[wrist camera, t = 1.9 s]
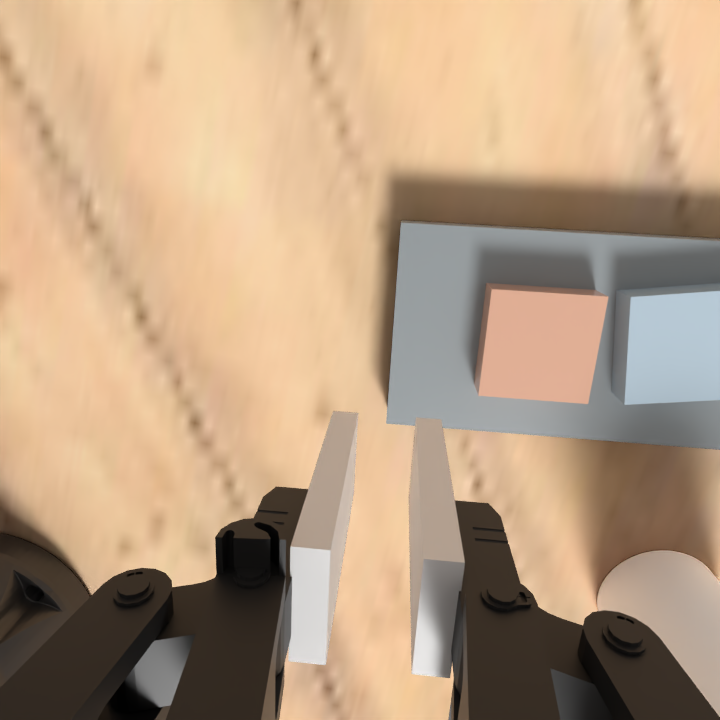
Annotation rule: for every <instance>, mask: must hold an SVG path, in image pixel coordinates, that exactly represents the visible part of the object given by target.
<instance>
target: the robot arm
mask: <svg viewBox="0 0 720 720" xmlns="http://www.w3.org/2000/svg"><path fill="white" fill-rule="evenodd" d="M357 426H358V413H353V412H340V411H333V413H332V416H331V420H330V423H329V426H328V429H327V432H326V435H325V439H324V442H323V445H322V448H321V451H320V454H319V458H318V461H317V464H316V467H315V470H314V473H313V476H312V480H311V483H310V486H309V489H298V488H286V487H275V488H274V489H273V490H272V491H270V492H269V493H268V494H266V495H265V496H264V497H263V499H262V501H261V503H260V505H259V508H258V511H257V512H256V514H255V516H254V518H253V519H242V520H239V521H236V522H233V523H230V524H229V525H227V526H226V527H224V528H222V529H221V530H220V532H219V533H218V534H217V536H216V537H215V539H216V569H217V574H216V577H215V578H214V579H211V580H209V581H206V582H203V583H198V584H193V585H186V586H179V587H172V581H171V579H170V578H169V577H168V576H167V574H166V573H164V572H161V571H159V570H156V569H148V568H140V569H134V570H129V571H126V572H123V573H121V574H118V575H116V576H114V577H112V578H111V579H110V580H108V581H107V582H106V583H104V584H103V585H102V586H101V587H100V588H99V589H98V590H97V591H96V592H95V593H94V594H93V595H92V596H91V597H90V596H89V594H88V593H87V591H86V589H85V588H84V586H83V585H82V583H81V582H80V581H79V579H78V578H77V577H76V576H75V575H74V574H73V573H72V571H71V570H70V569H69V568H68V567H66V566H65V565H64V564H63V563H62V562H61V561H60V560H58V559H57V558H56V557H54V556H53V555H51V554H50V553H48V552H47V551H45V550H43V549H42V548H40V547H38V546H36V545H34V544H32V543H30V542H27V541H25V540H22V539H20V538H16V537H13V536H9V535H5V534H0V720H279V717H280V709H281V702H282V695H283V687H284V662H285V658H286V655H287V651H288V647H289V661H292V662H302V663H311V664H321V665H326V660H327V654H328V648H329V642H330V636H331V630H332V624H333V617H334V611H335V605H336V599H337V593H338V587H339V581H340V574H341V568H342V562H343V556H344V550H345V544H346V538H347V532H348V525H349V519H350V513H351V507H352V501H353V495H354V481H355V463H356V444H357ZM409 545H410V603H411V661H412V674H417V675H426V676H436V677H445V678H450V673H451V666H452V664H453V673H454V683H453V690H452V698H451V705H450V713H449V720H720V717H719V715H718V714H717V713H716V711H715V710H714V709H713V708H712V706H711V705H710V704H709V702H708V701H707V700H706V698H705V697H704V696H703V694H702V693H701V692H700V690H699V689H698V688H697V686H696V685H695V684H694V682H693V681H692V680H691V678H690V677H689V676H688V674H687V673H686V672H685V671H684V669H683V668H682V667H681V665H680V664H679V663H678V661H677V660H676V659H675V657H674V656H673V655H672V653H671V652H670V651H669V649H668V648H667V647H666V645H665V644H664V643H663V641H662V640H661V639H660V638H659V637H658V636H657V635H656V634H655V633H654V632H653V631H652V630H651V629H650V628H649V627H648V626H647V625H645V624H644V623H642V622H640V621H639V620H637V619H636V618H634V617H631V616H628V615H626V614H623V613H620V612H615V611H607V610H602V611H597V612H592V613H591V614H590V615H589V616H587V617H586V618H585V620H584V625H583V626H582V625H579V624H576V623H573V622H570V621H567V620H564V619H561V618H559V617H556V616H554V615H551V614H549V613H547V612H546V611H544V610H542V609H541V608H539V607H538V604H537V602H536V600H535V598H534V596H533V594H532V593H531V592H530V591H529V590H528V589H527V588H526V587H525V586H524V585H522V584H520V581H519V577H518V574H517V570H516V567H515V564H514V560H513V557H512V554H511V550H510V547H509V544H508V540H507V537H506V533H505V532H504V527H503V523H502V520H501V517H500V515H499V514H498V513H497V512H496V511H495V510H494V509H493V508H492V507H491V506H490V505H489V504H488V503H477V502H466V501H455V499H454V493H453V487H452V481H451V475H450V469H449V463H448V457H447V451H446V445H445V439H444V433H443V427H442V420H441V419H430V418H417V417H416V421H415V433H414V444H413V455H412V466H411V477H410V488H409Z"/></svg>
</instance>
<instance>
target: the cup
mask: <svg viewBox="0 0 720 720" xmlns="http://www.w3.org/2000/svg"><path fill="white" fill-rule="evenodd" d="M597 608H598V611H602V610H607V611H615V612H620V613H623V614H626V615H628V616H631V617H634V618H636V619H637V620H639V621H640V622H642V623H644V624H645V625H647V626H648V627H649V628H650V629H651V630H652V631H653V632H654V633H655V634H656V635H657V636H658V637H659V638H660V639H661V640H662V641H663V643H664V644H665V645H666V647H667V648H668V649H669V651H670V652H671V653H672V655H673V656H674V657H675V659H676V660H677V661H678V663H679V664H680V665H681V667H682V668H683V669H684V671H685V672H686V673H687V674H688V676H689V677H690V678H691V680H692V681H693V682H694V684H695V685H696V686H697V688H698V689H699V690H700V692H701V693H702V694H703V696H704V697H705V698H706V700H707V701H708V702H709V704H710V705H711V706H712V708H713V709H714V710H715V711H716V713H717V714H718V715H719V717H720V582H719V580H718V579H717V578H716V577H715V576H714V574H713V573H712V572H711V571H710V569H709V568H708V567H707V566H706V565H705V564H703V563H702V562H701V561H699V560H698V559H696V558H694V557H692V556H690V555H688V554H685V553H681V552H676V551H669V550H658V551H650V552H645V553H641V554H638V555H635V556H633V557H631V558H629V559H627V560H625V561H623V562H622V563H620V564H619V565H617V566H616V567H615V568H614V569H613V570H612V571H611V572H610V573H609V574H608V575H607V576H606V578H605V579H604V581H603V582H602V584H601V587H600V589H599V592H598V597H597Z"/></svg>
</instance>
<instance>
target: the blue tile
mask: <svg viewBox="0 0 720 720" xmlns="http://www.w3.org/2000/svg"><path fill="white" fill-rule="evenodd" d="M611 392H612V393H613V394H614V395H615V396H616V397H617V398H618V399H619V400H620V401H621V402H622V403H623V404H624V405H632V404H651V403H671V402H691V401H710V400H720V283H712V284H698V285H684V286H669V287H655V288H641V289H627V290H616V309H615V329H614V349H613V369H612V389H611Z"/></svg>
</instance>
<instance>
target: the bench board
mask: <svg viewBox="0 0 720 720" xmlns="http://www.w3.org/2000/svg"><path fill="white" fill-rule="evenodd" d="M486 283H495V284H511V285H527V286H542V287H558V288H574V289H589V290H597V291H599V292H601V293H603V294H604V295H606V296H608V302H607V308H606V313H605V318H604V323H603V328H602V334H601V339H600V344H599V349H598V355H597V360H596V365H595V370H594V375H593V381H592V386H591V391H590V396H589V402H588V404H581V403H568V402H554V401H541V400H528V399H514V398H501V397H488V396H478V393H477V391H476V388H475V385H474V379H475V371H476V363H477V355H478V347H479V338H480V330H481V322H482V314H483V306H484V297H485V289H486ZM712 283H720V239H719V238H701V237H684V236H667V235H649V234H632V233H615V232H597V231H580V230H563V229H545V228H528V227H511V226H493V225H476V224H459V223H441V222H424V221H407V220H401V228H400V242H399V256H398V269H397V283H396V297H395V311H394V325H393V338H392V352H391V366H390V380H389V394H388V408H387V421H386V423H387V424H400V425H412V426H415V421H416V417H417V418H430V419H441V420H442V427H443V428H451V429H463V430H476V431H489V432H501V433H514V434H527V435H539V436H552V437H565V438H577V439H590V440H603V441H616V442H628V443H641V444H654V445H666V446H679V447H692V448H704V449H717V450H720V400H710V401H691V402H671V403H651V404H632V405H624V404H623V403H622V402H621V401H620V400H619V399H618V398H617V397H616V396H615V395H614V394H613V393H612V392H611V389H612V369H613V349H614V329H615V309H616V290H627V289H641V288H655V287H669V286H684V285H698V284H712Z"/></svg>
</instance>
